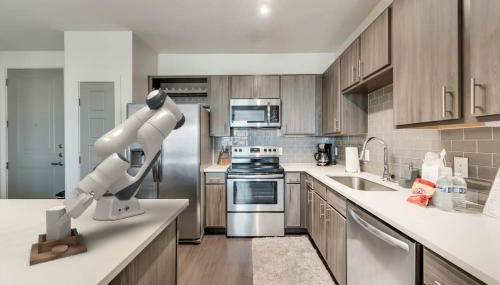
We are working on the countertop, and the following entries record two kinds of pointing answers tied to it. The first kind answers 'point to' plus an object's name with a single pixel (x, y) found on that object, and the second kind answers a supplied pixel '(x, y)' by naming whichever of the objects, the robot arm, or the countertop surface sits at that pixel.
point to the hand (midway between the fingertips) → (56, 221)
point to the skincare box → (52, 229)
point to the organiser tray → (57, 248)
